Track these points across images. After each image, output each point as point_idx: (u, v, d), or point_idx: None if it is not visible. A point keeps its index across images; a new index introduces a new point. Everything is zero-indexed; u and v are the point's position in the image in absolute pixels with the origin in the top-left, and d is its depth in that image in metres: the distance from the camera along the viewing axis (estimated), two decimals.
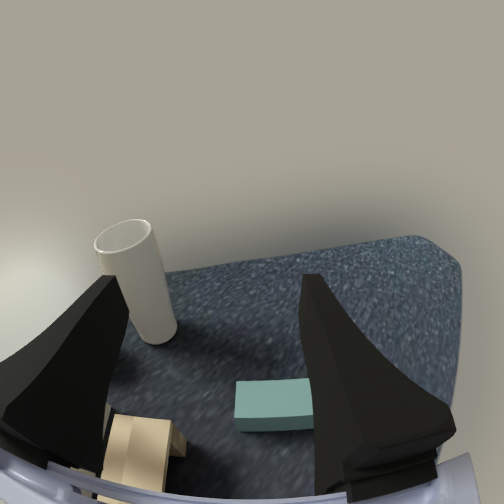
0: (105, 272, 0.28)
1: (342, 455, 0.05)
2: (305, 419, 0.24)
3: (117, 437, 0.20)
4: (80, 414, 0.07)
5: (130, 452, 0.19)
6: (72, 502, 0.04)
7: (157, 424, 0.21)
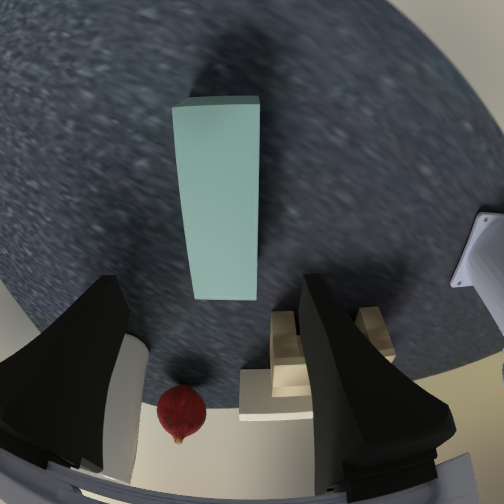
0: None
1: (342, 455, 0.05)
2: None
3: (300, 392, 0.24)
4: (80, 414, 0.07)
5: None
6: (72, 502, 0.04)
7: (280, 373, 0.22)
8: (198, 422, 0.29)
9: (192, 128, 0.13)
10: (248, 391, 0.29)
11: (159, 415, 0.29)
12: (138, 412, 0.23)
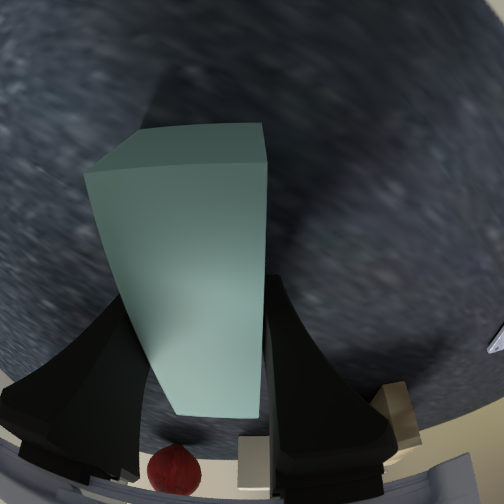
0: None
1: (275, 461, 0.05)
2: None
3: None
4: (120, 423, 0.07)
5: None
6: (72, 502, 0.04)
7: None
8: (193, 487, 0.22)
9: (127, 215, 0.06)
10: (247, 462, 0.22)
11: (150, 478, 0.22)
12: None
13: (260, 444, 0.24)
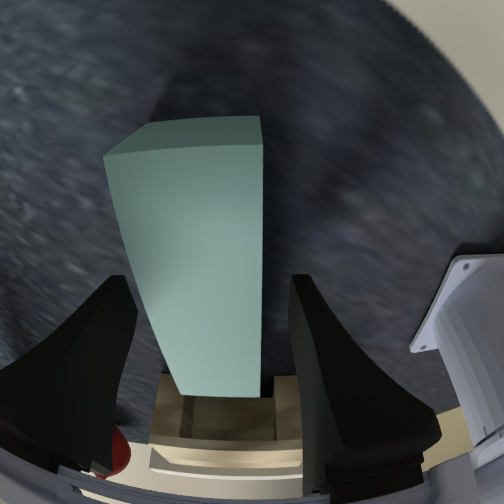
0: None
1: (324, 457, 0.05)
2: None
3: (198, 464, 0.18)
4: (90, 416, 0.07)
5: (212, 461, 0.17)
6: (72, 502, 0.04)
7: (161, 449, 0.15)
8: (119, 465, 0.23)
9: (141, 192, 0.07)
10: None
11: None
12: None
13: None
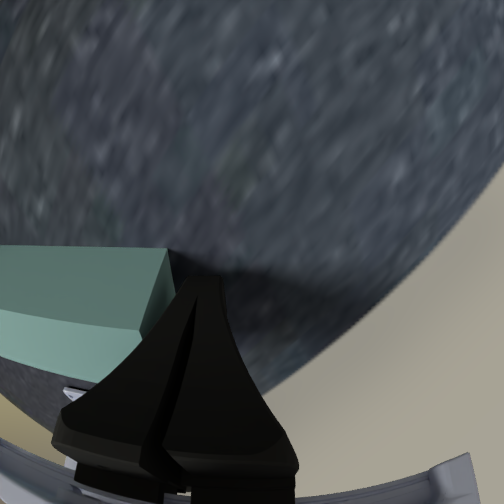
0: None
1: None
2: None
3: None
4: None
5: None
6: (72, 502, 0.04)
7: None
8: None
9: (114, 345, 0.08)
10: None
11: None
12: None
13: None
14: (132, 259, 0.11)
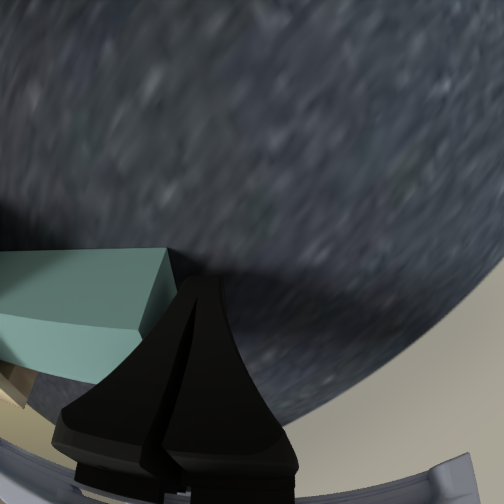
0: None
1: None
2: None
3: None
4: None
5: None
6: (72, 502, 0.04)
7: None
8: None
9: (115, 345, 0.08)
10: None
11: None
12: None
13: None
14: (132, 259, 0.11)
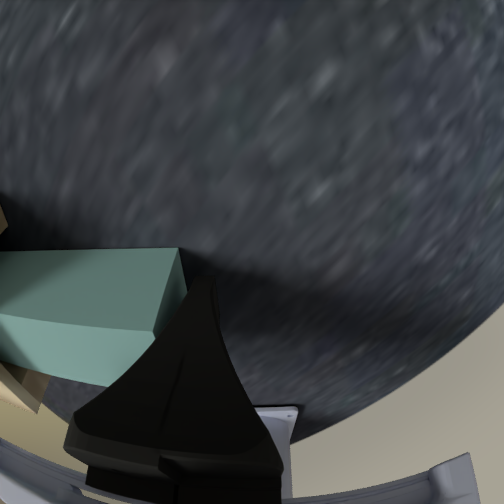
0: None
1: None
2: None
3: None
4: None
5: None
6: (72, 502, 0.04)
7: None
8: None
9: (127, 347, 0.08)
10: None
11: None
12: None
13: None
14: (143, 259, 0.11)
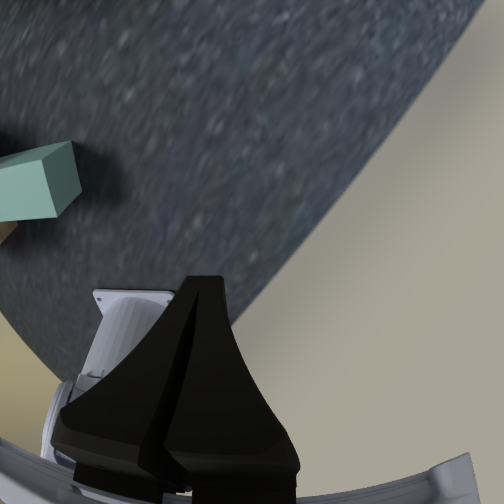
0: None
1: None
2: None
3: None
4: None
5: None
6: (72, 502, 0.04)
7: None
8: None
9: (32, 175, 0.14)
10: None
11: None
12: None
13: None
14: (55, 145, 0.16)
